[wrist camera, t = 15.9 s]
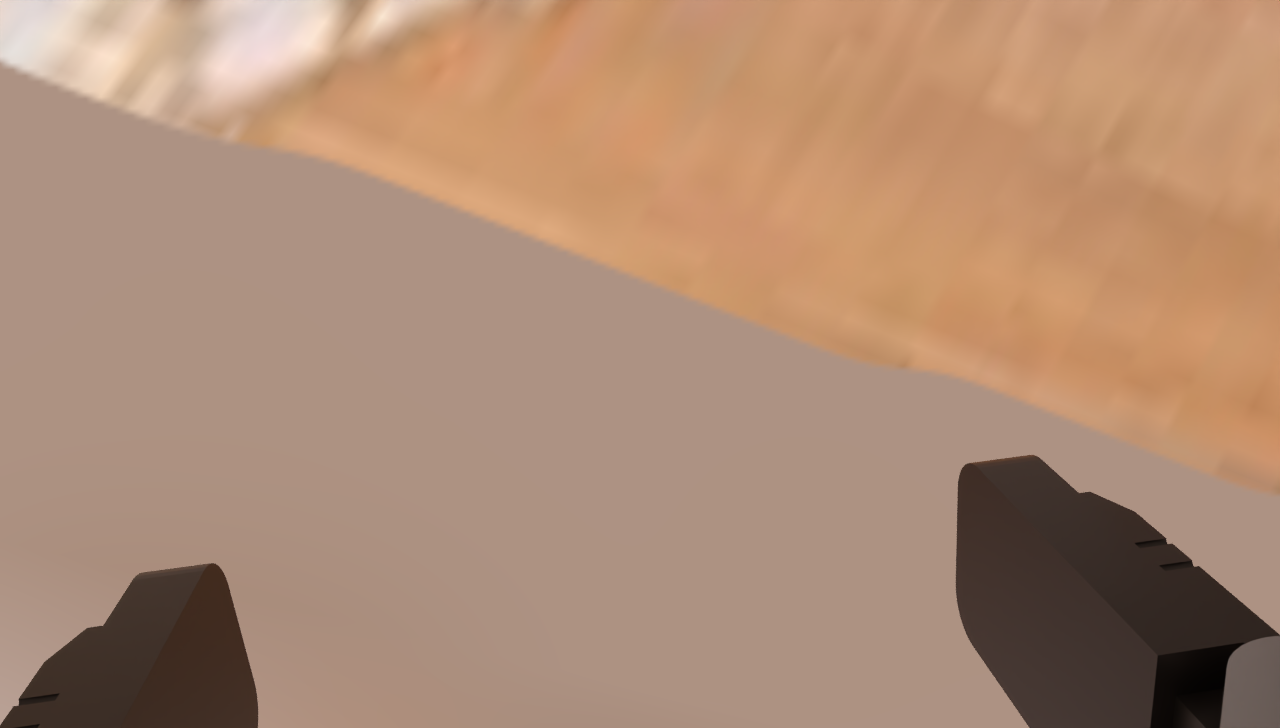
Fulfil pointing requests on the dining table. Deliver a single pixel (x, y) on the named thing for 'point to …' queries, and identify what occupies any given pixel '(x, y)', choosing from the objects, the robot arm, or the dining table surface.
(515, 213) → the dining table surface
